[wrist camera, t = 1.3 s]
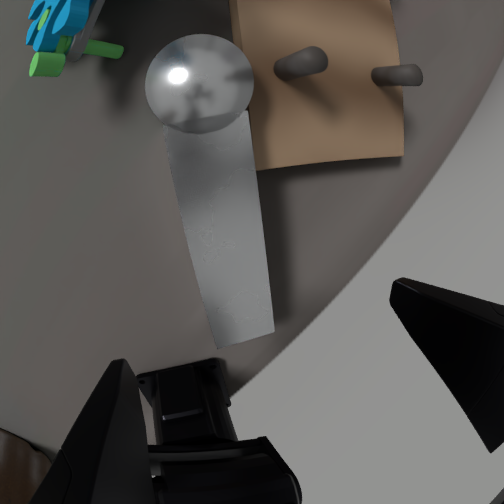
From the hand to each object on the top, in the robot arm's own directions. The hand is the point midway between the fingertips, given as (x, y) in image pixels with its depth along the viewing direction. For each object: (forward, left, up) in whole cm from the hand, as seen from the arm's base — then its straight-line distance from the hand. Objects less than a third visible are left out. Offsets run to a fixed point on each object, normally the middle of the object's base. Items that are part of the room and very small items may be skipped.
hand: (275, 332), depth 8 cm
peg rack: (+13, -7, -9) cm, 17 cm away
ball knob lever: (+2, 0, -9) cm, 9 cm away
